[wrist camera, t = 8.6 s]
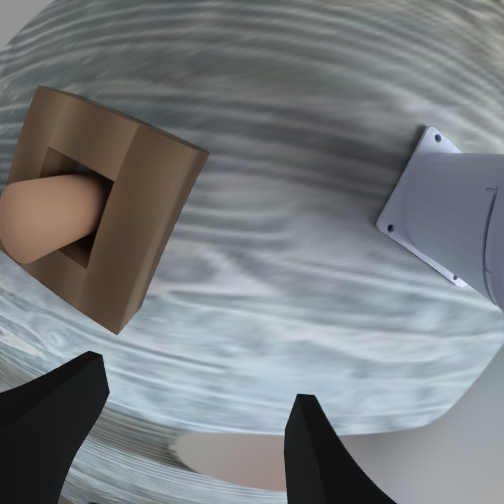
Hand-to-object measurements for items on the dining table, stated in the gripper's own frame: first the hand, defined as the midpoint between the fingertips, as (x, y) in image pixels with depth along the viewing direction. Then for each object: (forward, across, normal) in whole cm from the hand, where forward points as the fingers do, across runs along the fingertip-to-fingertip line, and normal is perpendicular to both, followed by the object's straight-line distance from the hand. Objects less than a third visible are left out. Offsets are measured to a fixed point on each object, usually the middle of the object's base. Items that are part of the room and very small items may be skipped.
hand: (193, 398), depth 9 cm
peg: (+10, +10, -5) cm, 15 cm away
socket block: (+10, +10, -5) cm, 15 cm away
